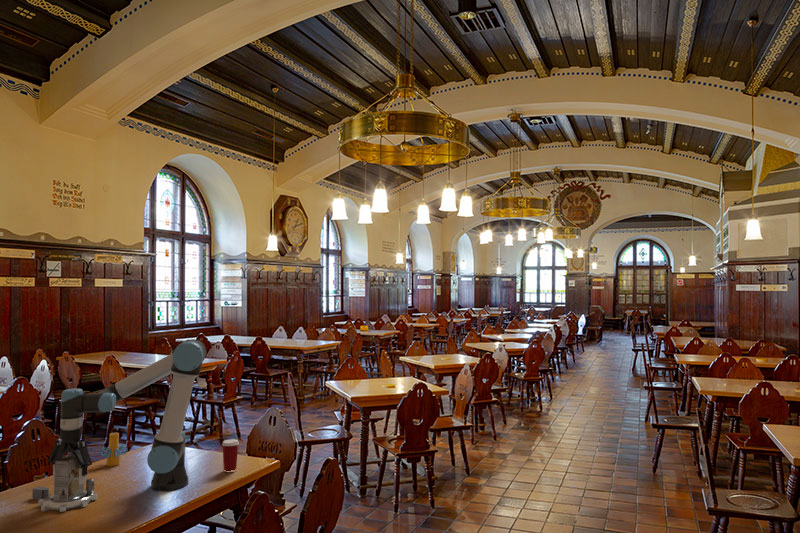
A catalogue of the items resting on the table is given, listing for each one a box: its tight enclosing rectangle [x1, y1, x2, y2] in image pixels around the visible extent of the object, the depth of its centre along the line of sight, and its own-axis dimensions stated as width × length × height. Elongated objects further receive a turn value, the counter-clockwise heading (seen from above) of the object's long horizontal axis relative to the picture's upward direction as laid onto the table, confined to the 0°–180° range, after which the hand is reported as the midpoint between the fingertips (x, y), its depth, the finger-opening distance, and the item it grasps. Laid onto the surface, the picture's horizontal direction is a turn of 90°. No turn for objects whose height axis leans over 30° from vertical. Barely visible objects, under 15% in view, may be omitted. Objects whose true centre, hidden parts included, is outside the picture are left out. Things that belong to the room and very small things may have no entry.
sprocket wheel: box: [37, 478, 98, 513], centre depth 218 cm, size 20×20×8 cm
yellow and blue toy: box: [99, 432, 129, 467], centre depth 267 cm, size 12×10×15 cm
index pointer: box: [31, 485, 50, 501], centre depth 223 cm, size 7×3×4 cm, turn 72°
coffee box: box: [53, 452, 84, 501], centre depth 219 cm, size 9×6×16 cm
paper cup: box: [221, 438, 240, 471], centre depth 259 cm, size 8×8×14 cm
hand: (69, 481), depth 219 cm, fingers open, 13 cm apart
